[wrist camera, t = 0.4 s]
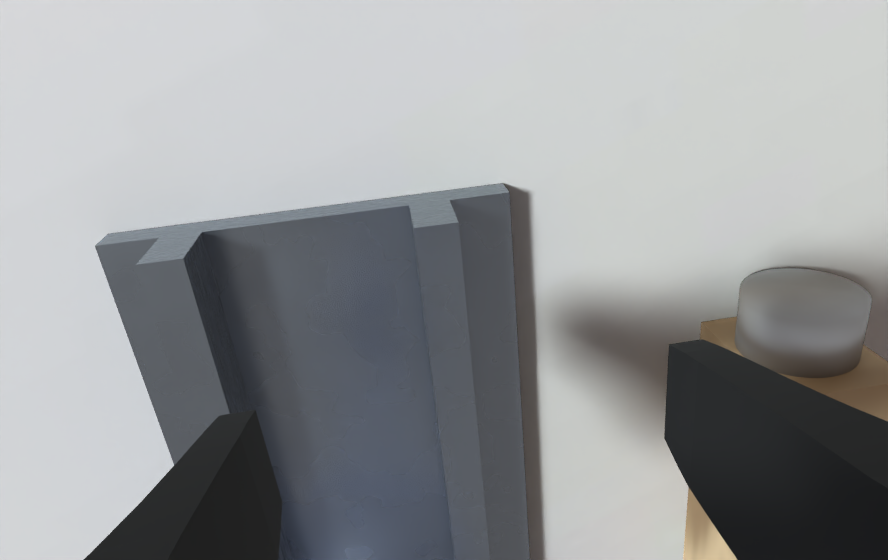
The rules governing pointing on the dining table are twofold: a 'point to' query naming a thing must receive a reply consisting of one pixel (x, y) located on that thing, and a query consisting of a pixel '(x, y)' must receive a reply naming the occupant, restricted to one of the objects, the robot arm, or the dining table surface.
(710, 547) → the block
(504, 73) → the dining table surface
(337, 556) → the cradle
